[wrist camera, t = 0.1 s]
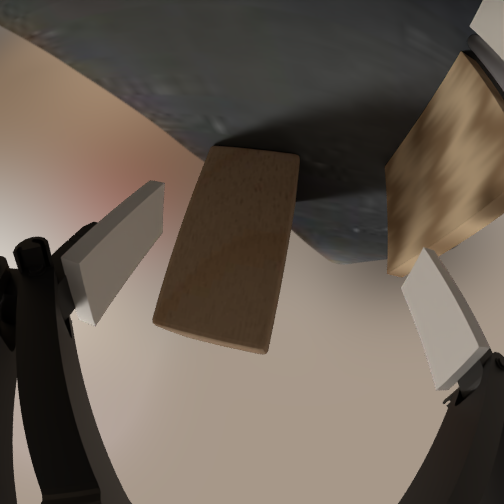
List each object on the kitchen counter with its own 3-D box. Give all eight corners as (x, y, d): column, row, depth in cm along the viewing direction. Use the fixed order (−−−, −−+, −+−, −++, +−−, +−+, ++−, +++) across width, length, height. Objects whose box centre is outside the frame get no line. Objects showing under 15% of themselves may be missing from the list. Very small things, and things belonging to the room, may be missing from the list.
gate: (461, 51, 12) (530, 168, 7) (486, 68, 12) (553, 190, 7) (384, 166, 26) (387, 273, 22) (406, 174, 26) (412, 279, 22)
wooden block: (300, 153, 28) (264, 351, 21) (295, 203, 37) (267, 355, 30) (210, 143, 30) (149, 323, 22) (223, 192, 39) (183, 336, 32)
